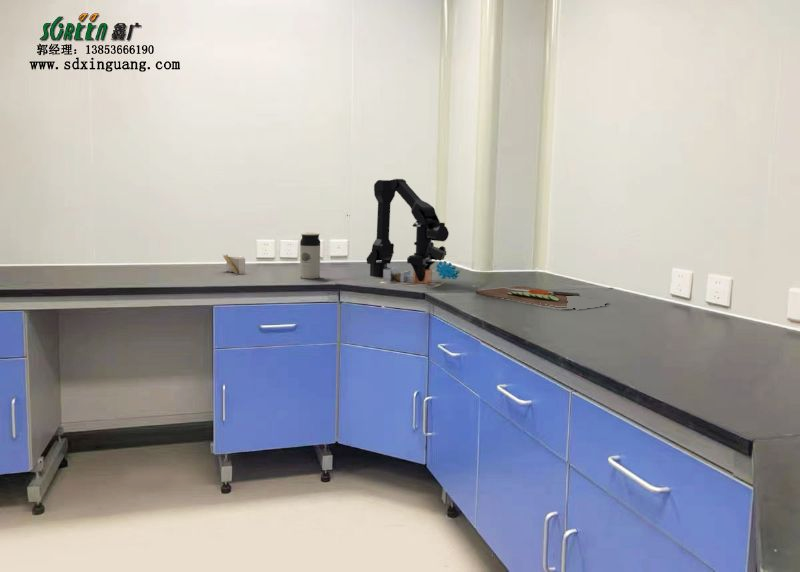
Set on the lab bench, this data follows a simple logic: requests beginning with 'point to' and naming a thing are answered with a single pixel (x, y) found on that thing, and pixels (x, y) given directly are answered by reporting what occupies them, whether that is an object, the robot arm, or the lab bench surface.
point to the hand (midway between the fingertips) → (422, 280)
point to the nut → (397, 277)
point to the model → (235, 264)
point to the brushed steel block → (389, 274)
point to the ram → (425, 280)
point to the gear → (447, 270)
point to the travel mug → (310, 256)
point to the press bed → (416, 284)
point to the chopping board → (529, 295)
